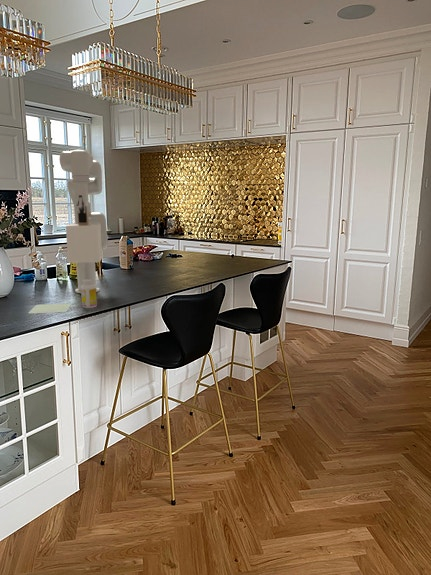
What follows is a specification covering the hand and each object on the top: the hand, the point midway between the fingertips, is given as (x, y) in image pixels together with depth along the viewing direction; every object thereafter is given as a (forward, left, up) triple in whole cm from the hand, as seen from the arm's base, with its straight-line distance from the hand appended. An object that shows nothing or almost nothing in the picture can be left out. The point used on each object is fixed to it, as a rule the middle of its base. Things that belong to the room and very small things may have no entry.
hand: (83, 221), depth 196 cm
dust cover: (0, 0, -17) cm, 17 cm away
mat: (+1, -17, -39) cm, 43 cm away
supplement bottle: (0, 0, -39) cm, 39 cm away
